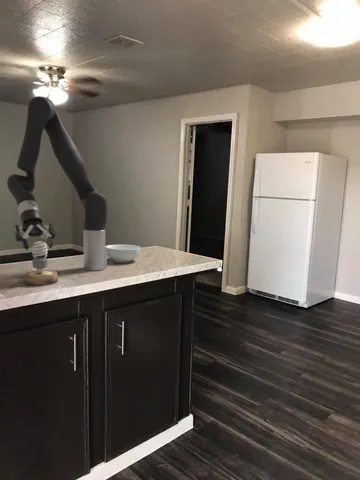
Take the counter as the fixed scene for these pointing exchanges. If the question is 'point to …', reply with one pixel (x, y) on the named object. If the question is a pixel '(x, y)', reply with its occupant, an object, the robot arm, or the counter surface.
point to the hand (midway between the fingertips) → (39, 247)
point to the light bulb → (39, 262)
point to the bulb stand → (40, 278)
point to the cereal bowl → (123, 252)
